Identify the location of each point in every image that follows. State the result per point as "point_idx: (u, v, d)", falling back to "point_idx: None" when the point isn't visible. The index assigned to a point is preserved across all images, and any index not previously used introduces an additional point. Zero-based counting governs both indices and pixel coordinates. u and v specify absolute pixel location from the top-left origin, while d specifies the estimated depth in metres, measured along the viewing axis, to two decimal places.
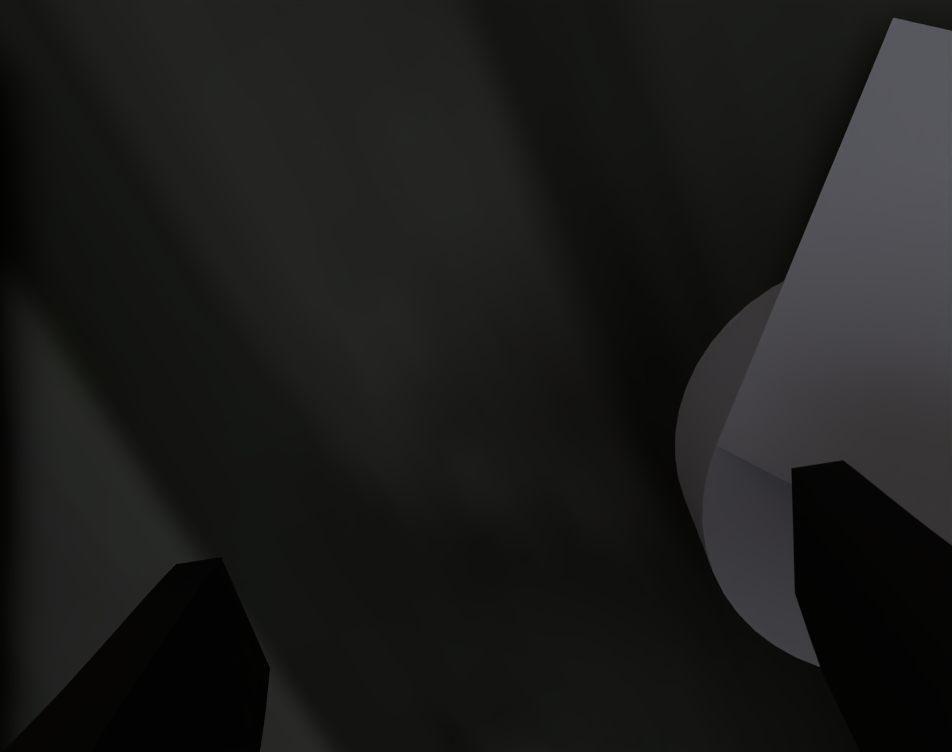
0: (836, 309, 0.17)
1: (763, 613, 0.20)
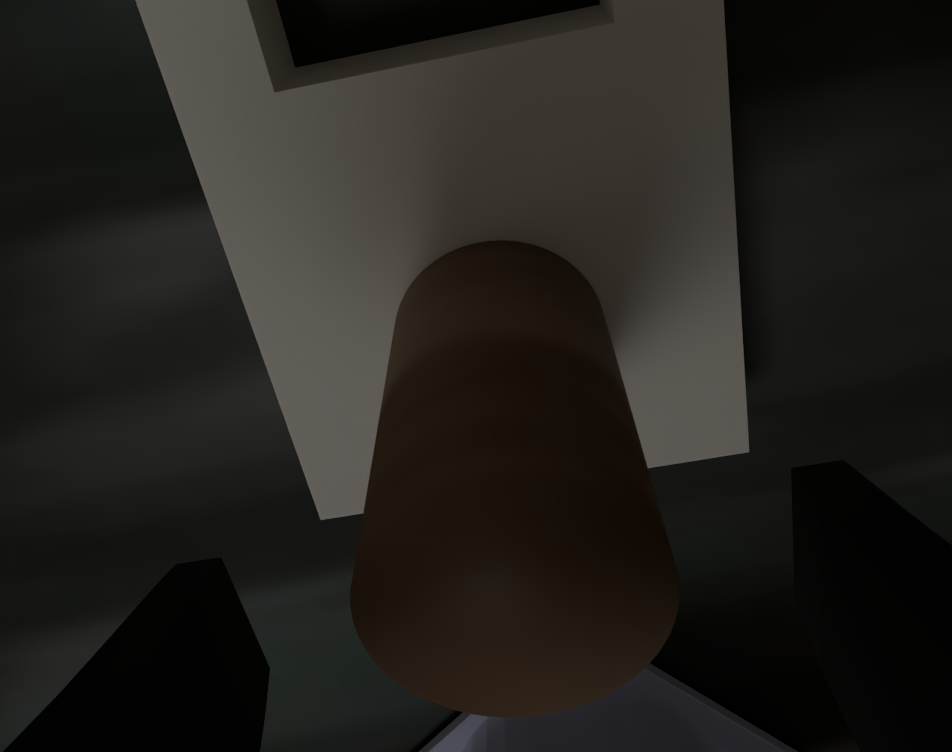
0: None
1: None
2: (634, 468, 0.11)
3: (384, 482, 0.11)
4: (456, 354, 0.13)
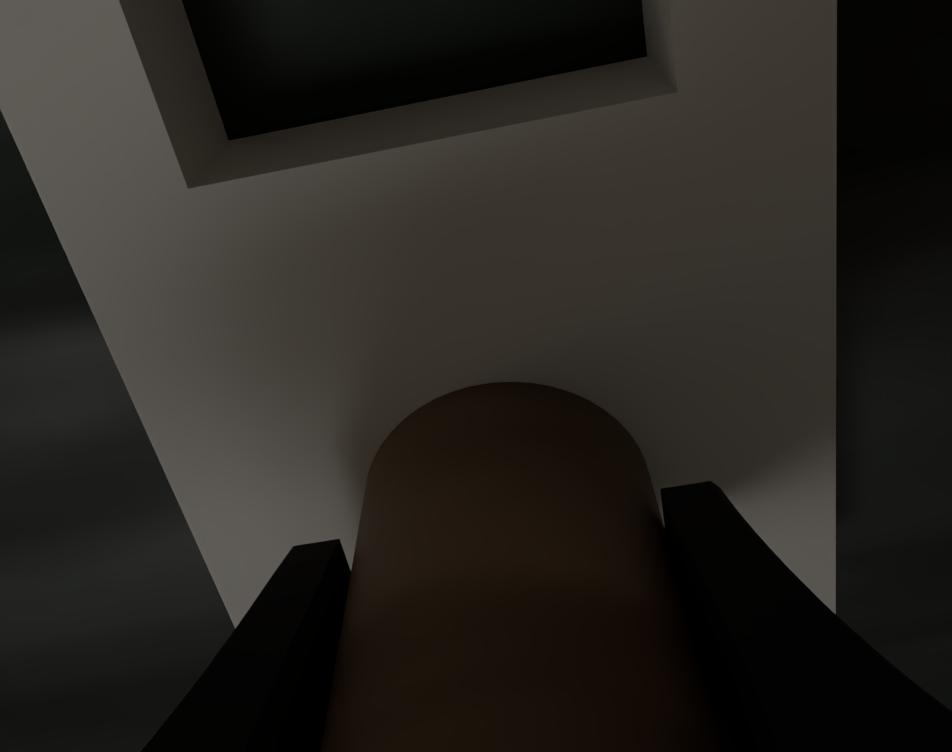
0: None
1: None
2: None
3: None
4: (444, 615, 0.08)
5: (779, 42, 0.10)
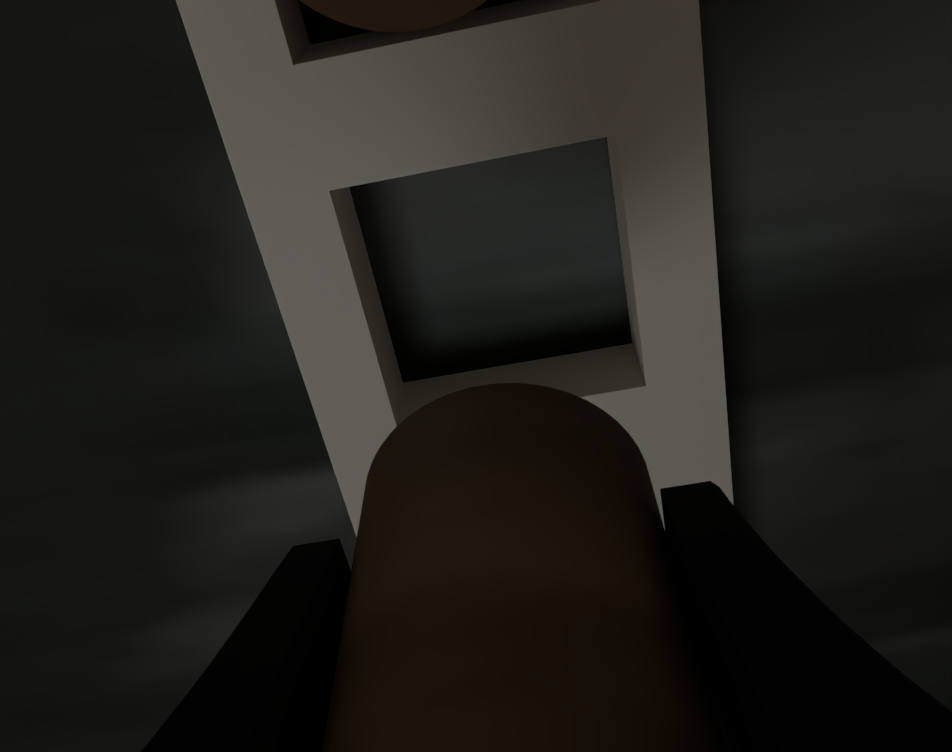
0: None
1: None
2: None
3: None
4: (444, 621, 0.08)
5: (695, 365, 0.20)
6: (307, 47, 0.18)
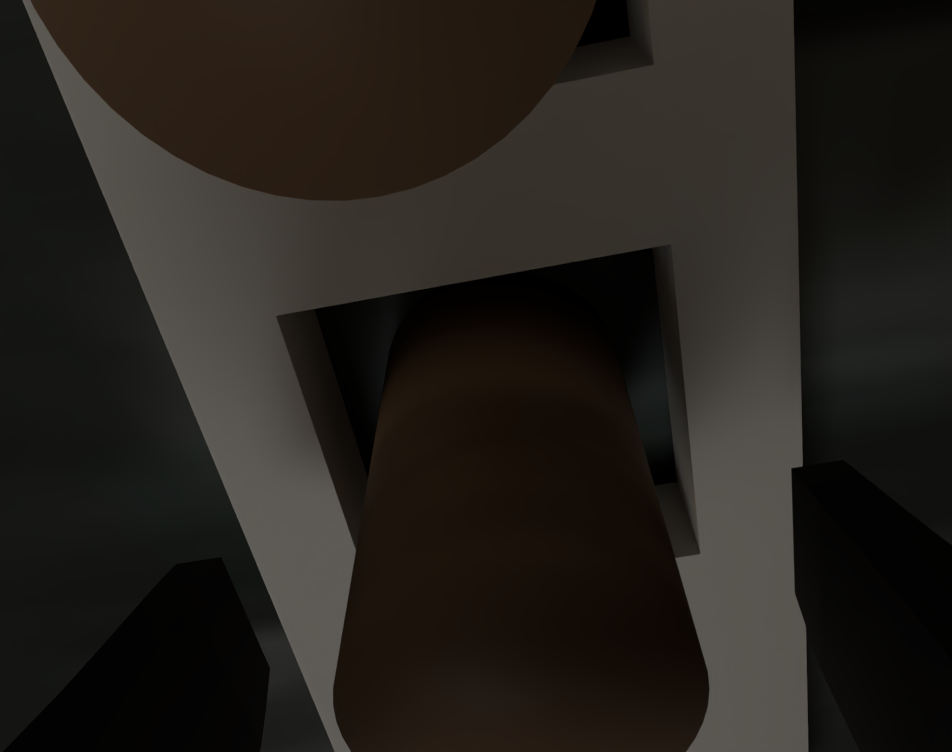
0: None
1: None
2: (656, 546, 0.10)
3: (372, 562, 0.10)
4: (454, 408, 0.11)
5: (766, 529, 0.15)
6: None
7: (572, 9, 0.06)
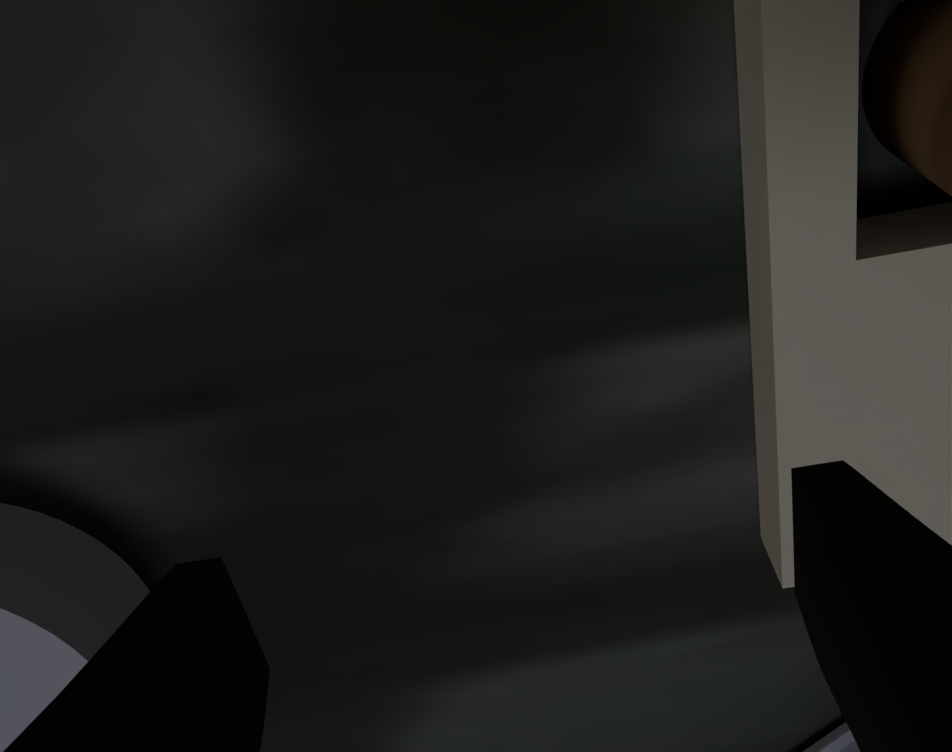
0: None
1: None
2: None
3: None
4: None
5: None
6: None
7: None
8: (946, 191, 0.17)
